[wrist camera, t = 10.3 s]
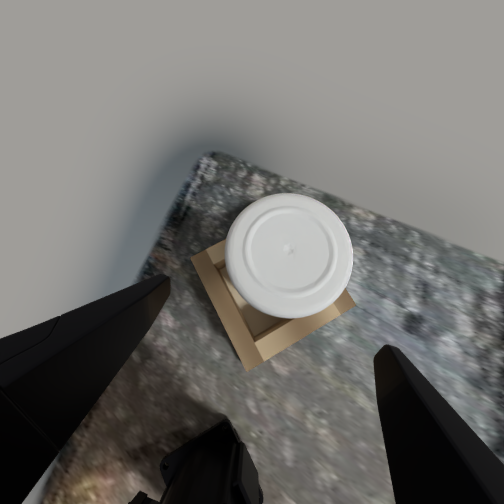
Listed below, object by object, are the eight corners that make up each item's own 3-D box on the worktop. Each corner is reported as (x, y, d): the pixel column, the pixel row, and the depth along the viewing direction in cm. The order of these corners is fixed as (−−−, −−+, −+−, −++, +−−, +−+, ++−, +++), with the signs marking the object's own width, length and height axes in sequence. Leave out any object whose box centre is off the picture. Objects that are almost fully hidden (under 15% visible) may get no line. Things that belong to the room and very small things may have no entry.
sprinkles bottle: (291, 264, 21) (360, 197, 7) (285, 312, 19) (356, 331, 6) (245, 257, 21) (234, 180, 8) (237, 304, 20) (210, 308, 7)
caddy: (245, 365, 19) (244, 382, 16) (194, 263, 22) (182, 255, 18) (343, 306, 21) (365, 307, 17) (285, 215, 23) (292, 197, 19)
